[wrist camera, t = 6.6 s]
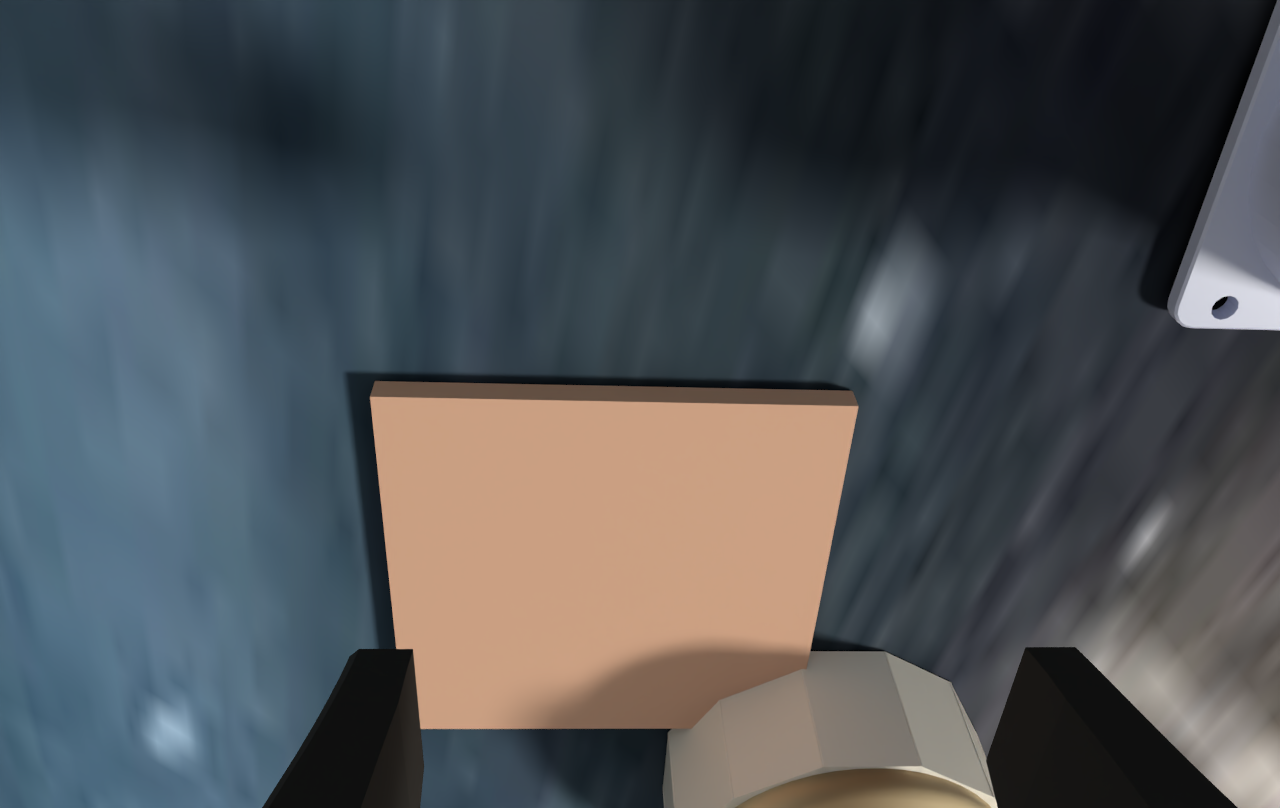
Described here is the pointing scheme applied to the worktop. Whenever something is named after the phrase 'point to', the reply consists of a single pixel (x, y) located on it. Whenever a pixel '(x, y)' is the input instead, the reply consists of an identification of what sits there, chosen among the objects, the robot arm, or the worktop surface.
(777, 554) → the mat
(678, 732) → the bowl
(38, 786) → the worktop surface
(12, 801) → the worktop surface
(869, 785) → the bamboo lid
